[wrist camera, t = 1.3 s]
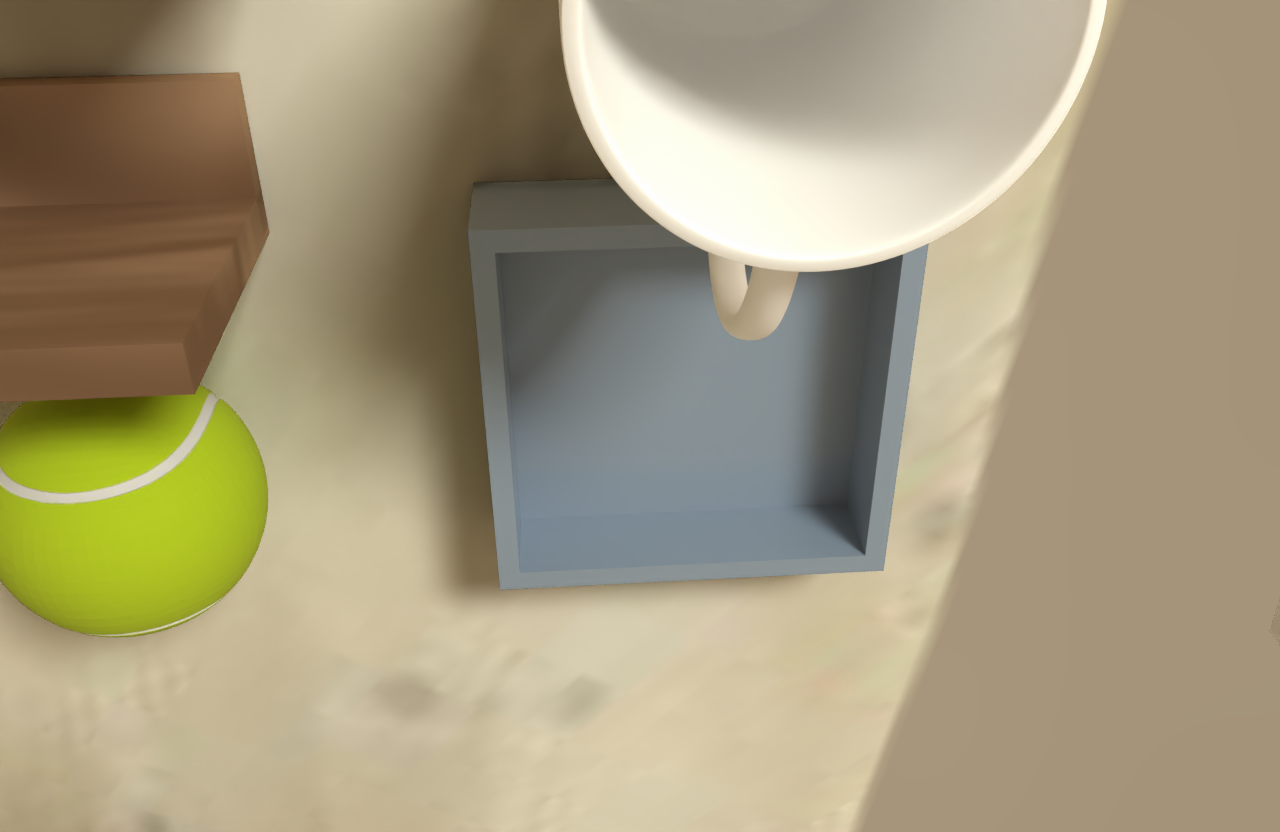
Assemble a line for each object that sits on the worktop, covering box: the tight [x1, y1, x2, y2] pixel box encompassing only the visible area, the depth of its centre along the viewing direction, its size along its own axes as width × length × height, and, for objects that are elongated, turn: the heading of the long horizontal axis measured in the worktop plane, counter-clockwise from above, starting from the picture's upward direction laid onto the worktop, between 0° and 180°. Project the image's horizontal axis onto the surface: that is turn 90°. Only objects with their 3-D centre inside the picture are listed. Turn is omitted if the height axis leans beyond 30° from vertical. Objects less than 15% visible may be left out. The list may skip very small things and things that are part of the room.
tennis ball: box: [0, 385, 268, 637], centre depth 31 cm, size 7×7×7 cm
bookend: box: [0, 73, 269, 402], centre depth 26 cm, size 4×8×8 cm, turn 91°
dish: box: [468, 179, 929, 590], centre depth 33 cm, size 11×11×3 cm
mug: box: [558, 0, 1107, 340], centre depth 23 cm, size 12×8×12 cm
